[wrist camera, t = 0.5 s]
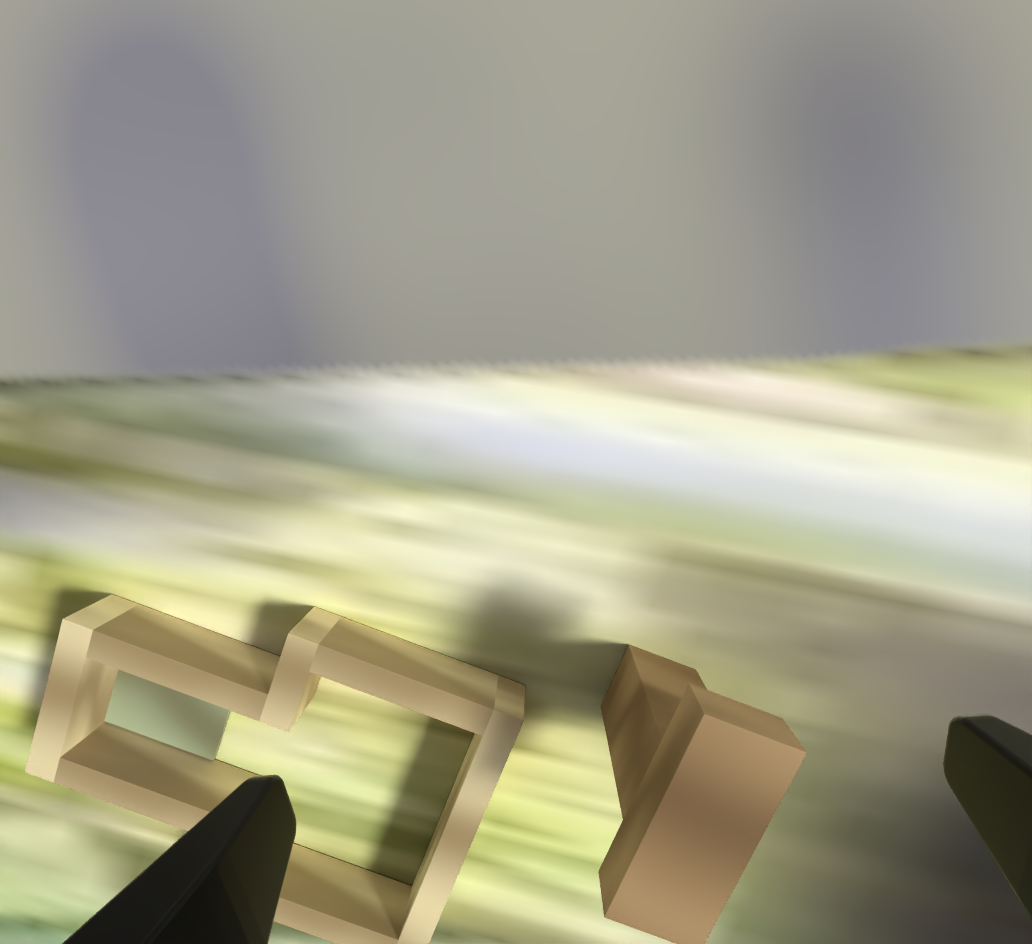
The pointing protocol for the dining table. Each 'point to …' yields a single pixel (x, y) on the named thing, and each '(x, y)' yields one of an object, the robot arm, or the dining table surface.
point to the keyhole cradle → (277, 702)
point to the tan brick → (686, 795)
